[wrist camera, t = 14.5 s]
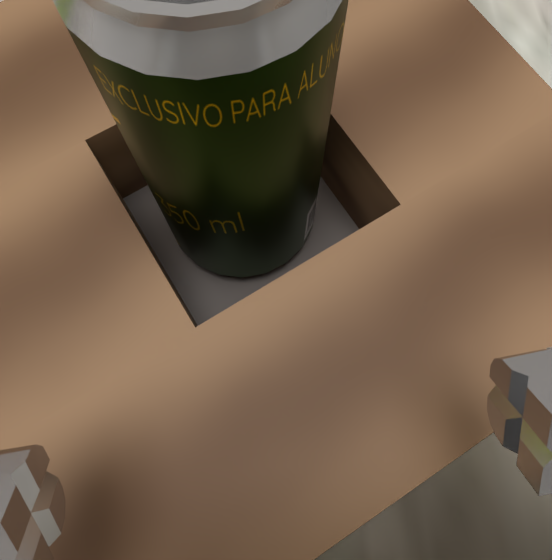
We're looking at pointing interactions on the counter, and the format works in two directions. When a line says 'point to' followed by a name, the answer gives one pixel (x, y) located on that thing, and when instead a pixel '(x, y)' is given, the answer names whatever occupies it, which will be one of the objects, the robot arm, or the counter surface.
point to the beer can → (220, 114)
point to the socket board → (270, 296)
